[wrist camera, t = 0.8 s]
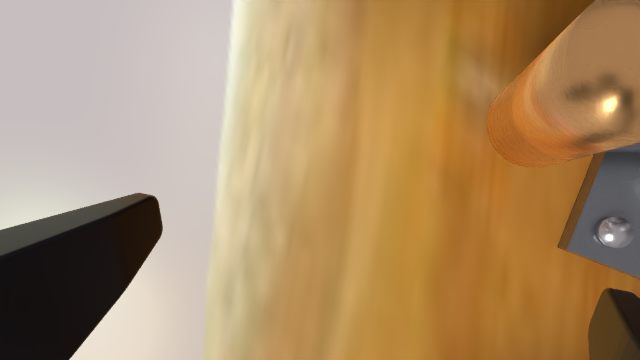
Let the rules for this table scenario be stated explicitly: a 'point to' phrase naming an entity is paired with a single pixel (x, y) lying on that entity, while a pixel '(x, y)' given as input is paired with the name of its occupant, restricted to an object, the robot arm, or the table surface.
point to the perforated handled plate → (575, 92)
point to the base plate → (608, 214)
